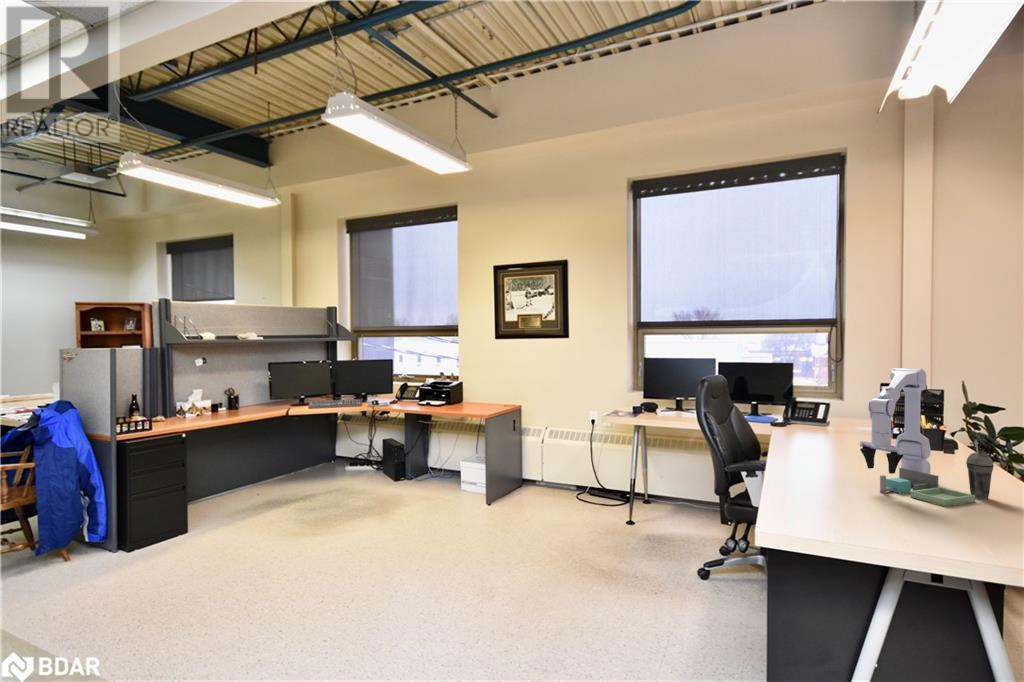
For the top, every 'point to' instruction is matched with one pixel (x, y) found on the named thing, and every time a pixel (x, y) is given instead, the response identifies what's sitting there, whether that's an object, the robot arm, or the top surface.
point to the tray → (943, 496)
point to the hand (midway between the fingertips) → (881, 470)
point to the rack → (919, 479)
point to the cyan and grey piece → (894, 484)
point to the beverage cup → (979, 473)
